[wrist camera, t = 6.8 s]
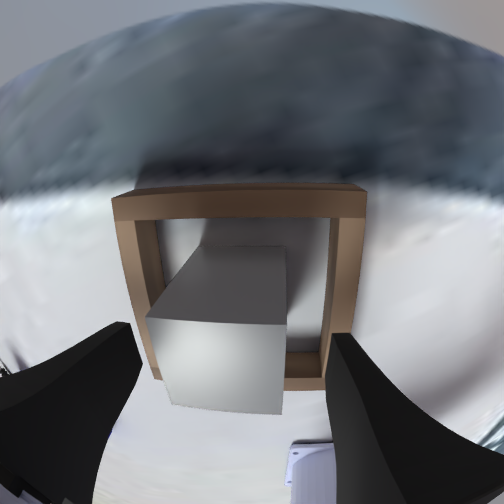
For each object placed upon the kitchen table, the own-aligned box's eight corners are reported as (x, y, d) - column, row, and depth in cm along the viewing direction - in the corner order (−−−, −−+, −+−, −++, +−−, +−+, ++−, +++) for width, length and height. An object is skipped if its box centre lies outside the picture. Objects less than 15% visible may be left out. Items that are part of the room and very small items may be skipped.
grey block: (283, 320, 14) (281, 414, 9) (207, 317, 15) (171, 404, 9) (285, 246, 13) (286, 324, 7) (198, 245, 13) (144, 317, 8)
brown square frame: (333, 364, 15) (338, 389, 13) (165, 357, 16) (154, 379, 14) (353, 184, 11) (367, 191, 10) (133, 190, 12) (111, 198, 11)
